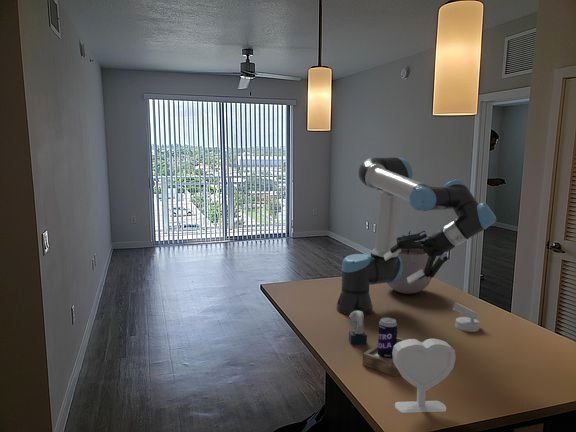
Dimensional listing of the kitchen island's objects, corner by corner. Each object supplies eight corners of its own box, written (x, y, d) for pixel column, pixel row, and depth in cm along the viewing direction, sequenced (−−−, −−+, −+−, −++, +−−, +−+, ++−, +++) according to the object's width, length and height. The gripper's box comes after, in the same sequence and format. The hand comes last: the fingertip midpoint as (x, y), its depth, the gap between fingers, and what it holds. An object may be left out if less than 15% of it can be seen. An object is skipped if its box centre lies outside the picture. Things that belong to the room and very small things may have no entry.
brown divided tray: (362, 364, 138) (362, 353, 138) (390, 345, 153) (391, 335, 152) (394, 376, 131) (395, 364, 131) (421, 355, 146) (421, 344, 145)
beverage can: (375, 352, 141) (376, 317, 139) (392, 352, 141) (394, 316, 140) (380, 361, 135) (382, 323, 134) (398, 360, 136) (400, 323, 134)
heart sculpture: (394, 413, 113) (398, 346, 110) (388, 402, 117) (391, 338, 115) (453, 411, 114) (458, 345, 111) (445, 400, 119) (449, 337, 116)
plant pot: (379, 283, 227) (382, 226, 223) (427, 286, 224) (430, 227, 220) (382, 298, 204) (385, 234, 200) (436, 301, 200) (440, 236, 196)
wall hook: (451, 298, 174) (478, 300, 172) (449, 321, 176) (476, 324, 174) (455, 306, 166) (483, 308, 164) (453, 330, 167) (481, 332, 165)
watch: (362, 336, 160) (364, 307, 158) (367, 346, 152) (368, 315, 150) (347, 336, 159) (348, 307, 158) (351, 346, 152) (352, 315, 150)
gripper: (429, 219, 138) (375, 254, 147) (472, 266, 147) (419, 297, 156) (425, 207, 145) (373, 241, 153) (466, 253, 153) (415, 283, 162)
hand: (396, 269), depth 155 cm, fingers open, 13 cm apart
